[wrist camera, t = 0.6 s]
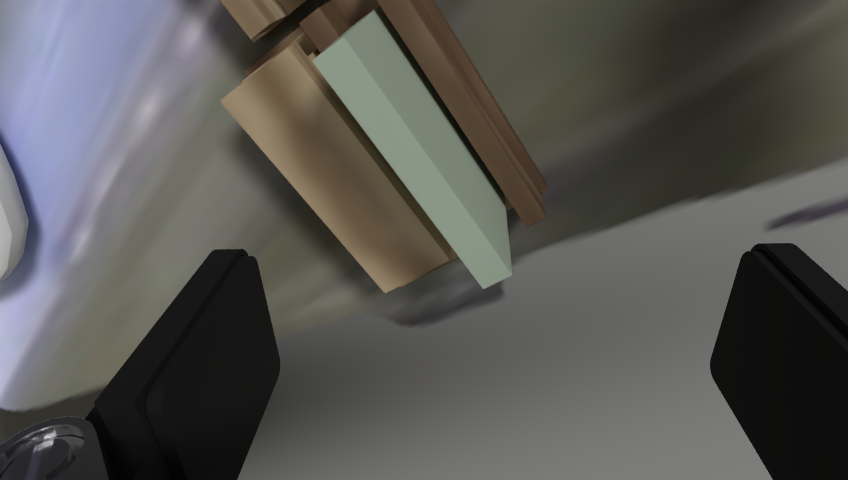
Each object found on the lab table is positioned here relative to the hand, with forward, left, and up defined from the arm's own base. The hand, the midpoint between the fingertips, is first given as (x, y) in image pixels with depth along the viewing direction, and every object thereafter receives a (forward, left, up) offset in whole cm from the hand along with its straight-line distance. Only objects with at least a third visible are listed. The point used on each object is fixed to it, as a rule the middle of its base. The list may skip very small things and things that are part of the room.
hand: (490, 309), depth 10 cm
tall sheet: (+5, +3, -30) cm, 30 cm away
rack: (+9, +3, -31) cm, 32 cm away
